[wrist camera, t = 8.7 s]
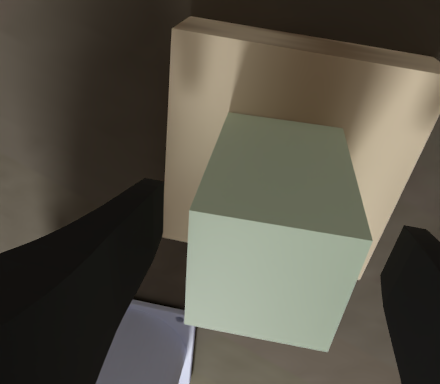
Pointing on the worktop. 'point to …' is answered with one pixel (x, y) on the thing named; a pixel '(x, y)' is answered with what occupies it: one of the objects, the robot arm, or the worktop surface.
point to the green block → (275, 233)
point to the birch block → (296, 106)
